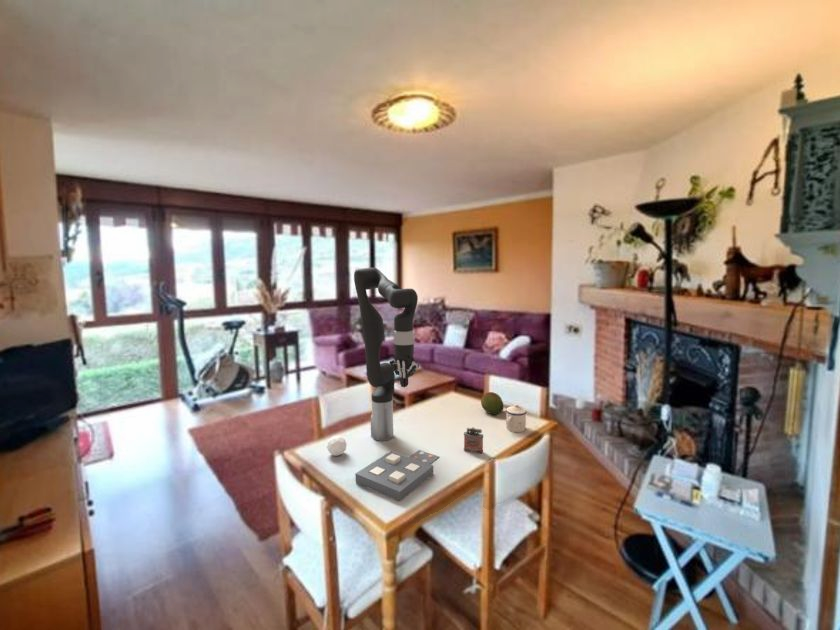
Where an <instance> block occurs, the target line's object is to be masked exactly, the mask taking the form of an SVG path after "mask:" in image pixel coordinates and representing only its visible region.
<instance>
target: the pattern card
mask: <svg viewBox="0 0 840 630" xmlns="http://www.w3.org/2000/svg"><path fill="white" fill-rule="evenodd" d="M408 457H410V458H413V459H416V460H419V461H422V462H424V463H427V464H430V465H432V464H433V463H434V462H435V461H437V459H439V458H440V456H438V455H436V454H432V453H429V452H426V451H424V450H421V449H418V450H417V451H415V452H414V453H412V454H411V455H409V456H408Z"/></svg>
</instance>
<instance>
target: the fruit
mask: <svg viewBox="0 0 840 630" xmlns="http://www.w3.org/2000/svg"><path fill="white" fill-rule="evenodd" d="M480 404H481V408H482V409H483V410H484V411H486V412H487V413H489V414H492V415H497V414H500V413H502V412H503V410H504V402H503V400H502V397H501V396H500V395H499V394H498V393H495V392H493V391H489V392H486V393H484V395H482V397H481V399H480Z"/></svg>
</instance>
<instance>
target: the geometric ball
mask: <svg viewBox="0 0 840 630" xmlns="http://www.w3.org/2000/svg"><path fill="white" fill-rule="evenodd" d="M326 446H327V447H326V449H327V451H328V453H329V454H331V456H336V457H338V456H340V455H342V454H344V453H345V451H346V450H347V446H348V444H347V441H346V439H345V438H344V437H343V436H341V435H334V436H332V437H330V439H329V440H328V441H327V445H326Z"/></svg>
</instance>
